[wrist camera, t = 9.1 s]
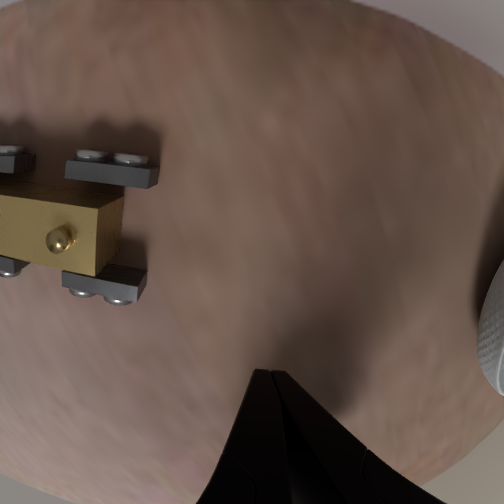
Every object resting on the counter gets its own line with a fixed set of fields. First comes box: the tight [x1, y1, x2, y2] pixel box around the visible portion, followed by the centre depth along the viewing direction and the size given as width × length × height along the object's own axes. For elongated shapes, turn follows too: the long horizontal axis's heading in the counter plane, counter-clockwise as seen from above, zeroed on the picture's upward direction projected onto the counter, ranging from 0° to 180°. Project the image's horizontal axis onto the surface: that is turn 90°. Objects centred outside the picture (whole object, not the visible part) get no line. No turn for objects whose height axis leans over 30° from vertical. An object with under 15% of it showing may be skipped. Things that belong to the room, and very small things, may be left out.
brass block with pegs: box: [0, 180, 125, 276], centre depth 15 cm, size 4×12×5 cm, turn 78°
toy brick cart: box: [0, 145, 160, 305], centre depth 16 cm, size 9×15×3 cm, turn 78°
